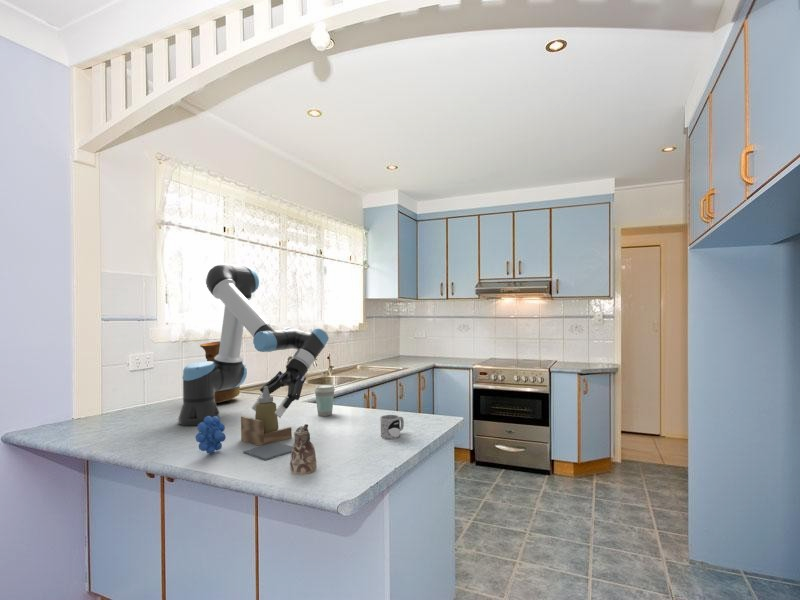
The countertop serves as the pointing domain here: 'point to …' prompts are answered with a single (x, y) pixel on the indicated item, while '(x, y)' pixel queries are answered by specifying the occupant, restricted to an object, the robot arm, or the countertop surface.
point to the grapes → (210, 434)
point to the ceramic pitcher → (211, 352)
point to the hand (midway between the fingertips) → (265, 412)
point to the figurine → (302, 452)
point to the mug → (391, 426)
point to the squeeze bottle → (267, 411)
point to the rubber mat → (269, 450)
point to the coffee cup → (324, 399)
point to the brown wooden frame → (261, 432)
